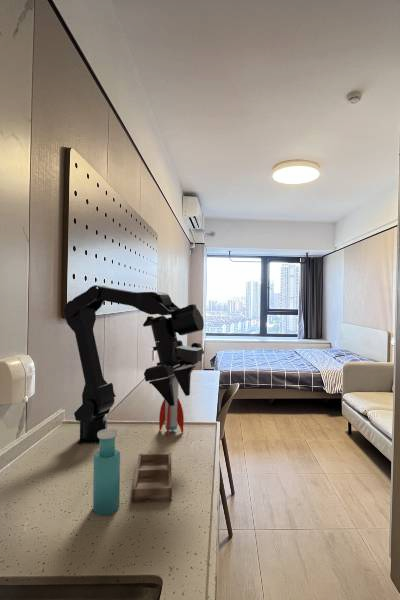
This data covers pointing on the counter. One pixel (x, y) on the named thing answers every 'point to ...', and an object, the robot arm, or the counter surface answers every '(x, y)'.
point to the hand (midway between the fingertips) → (180, 400)
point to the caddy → (153, 478)
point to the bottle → (106, 474)
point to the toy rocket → (172, 411)
